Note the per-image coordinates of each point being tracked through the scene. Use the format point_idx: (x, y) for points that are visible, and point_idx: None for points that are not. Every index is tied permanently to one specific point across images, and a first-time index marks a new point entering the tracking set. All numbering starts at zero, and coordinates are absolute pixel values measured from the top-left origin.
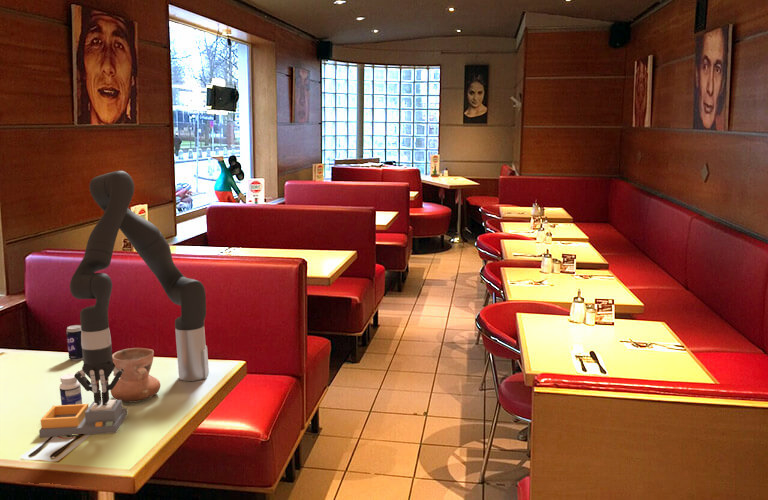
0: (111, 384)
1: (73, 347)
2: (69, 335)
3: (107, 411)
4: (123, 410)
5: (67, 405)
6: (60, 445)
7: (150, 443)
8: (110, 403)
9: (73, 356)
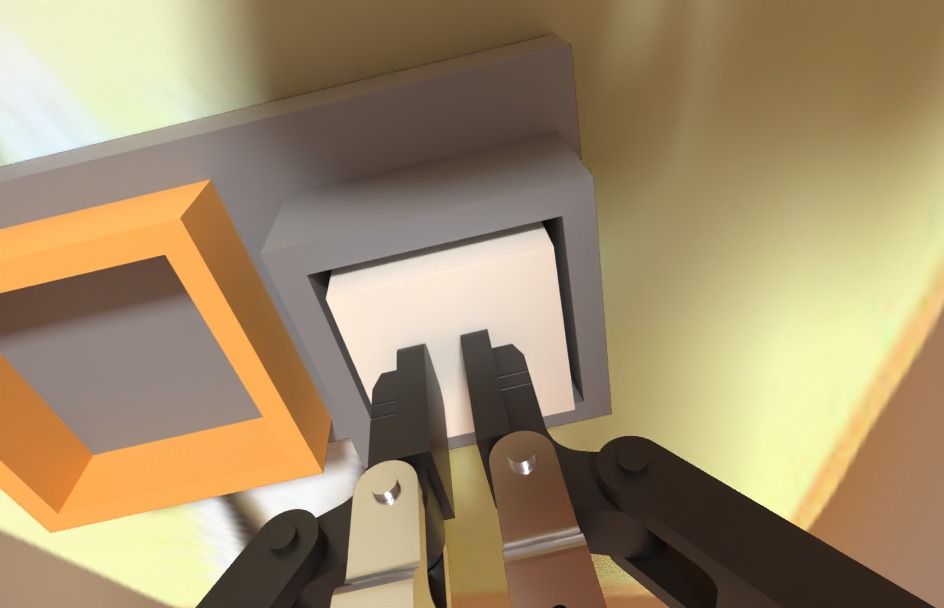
0: (672, 586)
1: None
2: None
3: (553, 423)
4: (555, 108)
5: None
6: (337, 499)
7: (818, 423)
8: (534, 341)
9: None
